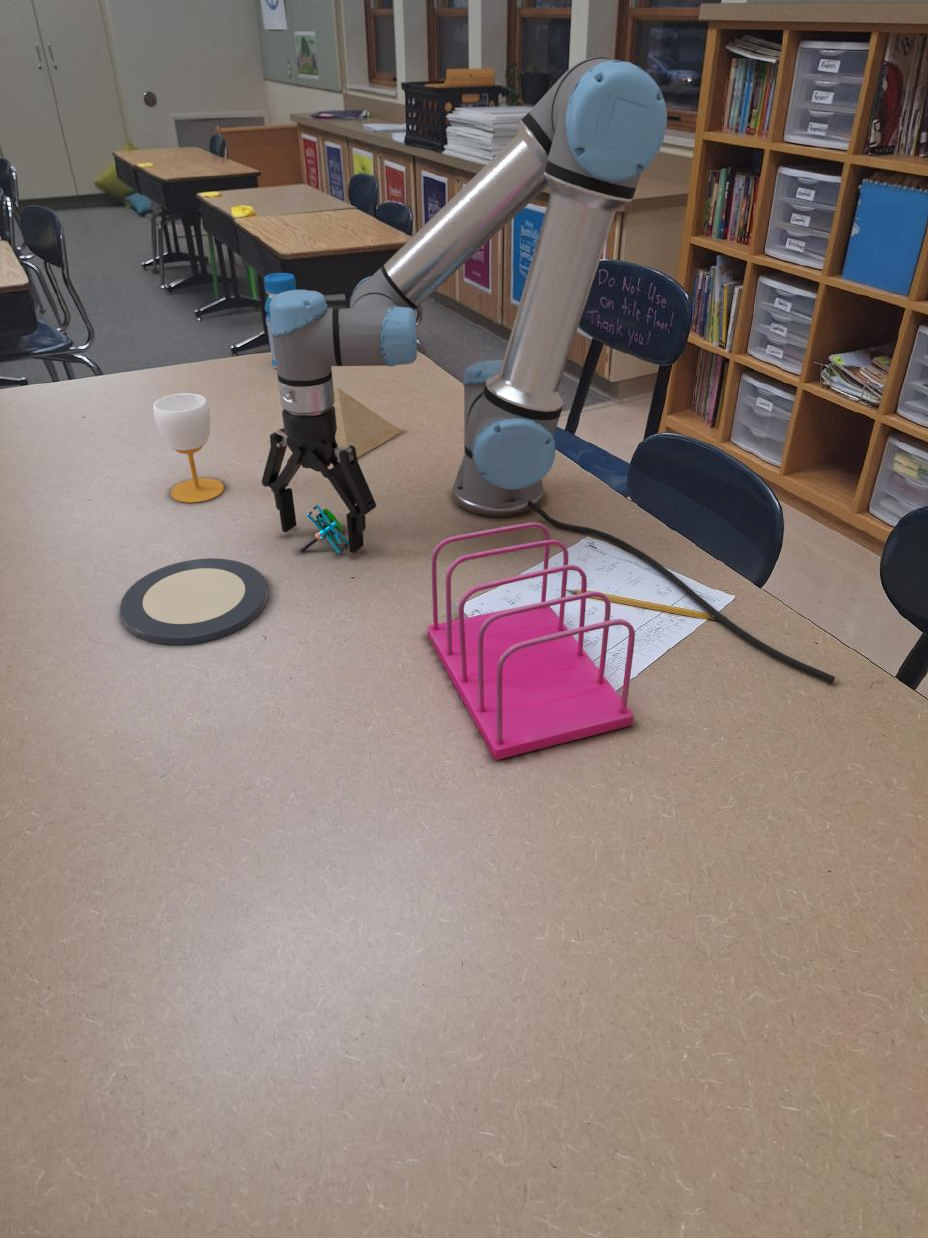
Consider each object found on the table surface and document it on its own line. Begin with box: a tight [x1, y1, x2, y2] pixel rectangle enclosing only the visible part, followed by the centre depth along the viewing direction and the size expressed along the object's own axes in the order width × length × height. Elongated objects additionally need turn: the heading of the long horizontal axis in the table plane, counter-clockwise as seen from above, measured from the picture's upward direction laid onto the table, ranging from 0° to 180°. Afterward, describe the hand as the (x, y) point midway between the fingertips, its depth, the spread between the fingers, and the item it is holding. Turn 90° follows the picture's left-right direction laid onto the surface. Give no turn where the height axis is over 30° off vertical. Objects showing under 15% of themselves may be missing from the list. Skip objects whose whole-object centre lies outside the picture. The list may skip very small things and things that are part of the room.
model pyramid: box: [333, 387, 403, 459], centre depth 165 cm, size 17×17×10 cm
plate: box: [119, 557, 269, 646], centre depth 121 cm, size 20×20×1 cm
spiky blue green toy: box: [299, 504, 349, 555], centre depth 134 cm, size 12×7×8 cm
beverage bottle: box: [263, 272, 297, 370], centre depth 196 cm, size 8×8×20 cm
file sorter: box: [427, 521, 636, 761], centre depth 103 cm, size 17×25×16 cm
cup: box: [152, 392, 225, 504], centre depth 145 cm, size 9×9×16 cm
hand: (322, 538), depth 134 cm, fingers open, 12 cm apart
